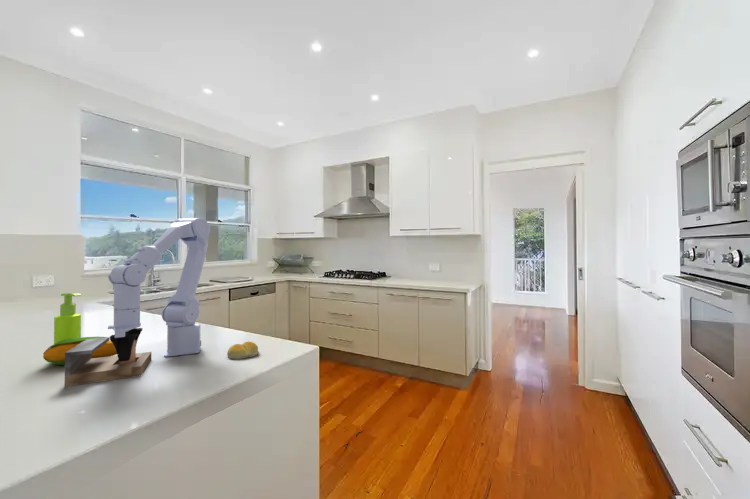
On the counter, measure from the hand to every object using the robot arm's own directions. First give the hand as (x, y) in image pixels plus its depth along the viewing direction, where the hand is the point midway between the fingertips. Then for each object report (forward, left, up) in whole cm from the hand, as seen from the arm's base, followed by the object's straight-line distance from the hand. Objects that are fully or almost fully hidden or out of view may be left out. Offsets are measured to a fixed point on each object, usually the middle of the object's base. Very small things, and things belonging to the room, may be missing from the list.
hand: (126, 358), depth 87 cm
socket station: (+3, 0, -3) cm, 4 cm away
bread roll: (-30, 0, -4) cm, 30 cm away
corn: (+12, -14, -4) cm, 19 cm away
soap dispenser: (+19, -20, -3) cm, 27 cm away
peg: (0, 0, -3) cm, 3 cm away
